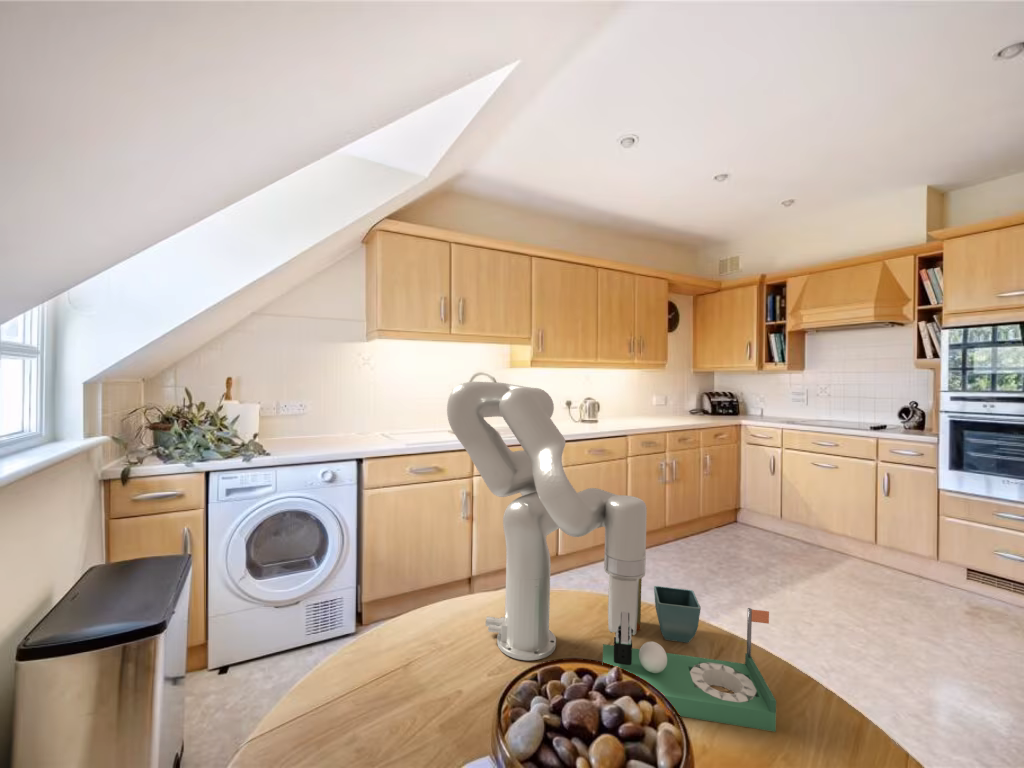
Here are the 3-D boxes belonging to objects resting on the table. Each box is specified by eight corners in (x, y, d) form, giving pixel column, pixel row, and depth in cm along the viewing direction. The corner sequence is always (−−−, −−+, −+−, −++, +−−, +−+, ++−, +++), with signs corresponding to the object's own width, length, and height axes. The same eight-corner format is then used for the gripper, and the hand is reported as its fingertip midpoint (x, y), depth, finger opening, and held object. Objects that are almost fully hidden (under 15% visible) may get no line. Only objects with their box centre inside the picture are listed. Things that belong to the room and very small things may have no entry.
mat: (602, 703, 77) (603, 674, 77) (602, 658, 90) (603, 634, 90) (775, 731, 71) (776, 700, 72) (749, 680, 84) (749, 653, 84)
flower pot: (700, 650, 94) (701, 608, 94) (657, 644, 95) (658, 602, 95) (692, 628, 102) (693, 589, 102) (652, 623, 104) (653, 585, 104)
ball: (639, 677, 80) (640, 649, 80) (637, 660, 85) (638, 634, 85) (668, 681, 79) (669, 653, 79) (664, 664, 84) (665, 638, 84)
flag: (746, 684, 83) (748, 609, 83) (745, 681, 84) (747, 607, 84) (768, 687, 82) (769, 611, 82) (766, 684, 83) (768, 610, 83)
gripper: (604, 547, 91) (602, 637, 91) (604, 577, 76) (602, 684, 76) (641, 551, 89) (639, 642, 89) (649, 582, 75) (647, 691, 75)
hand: (622, 661), depth 83 cm, fingers closed
